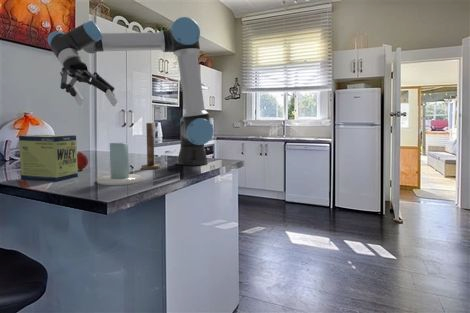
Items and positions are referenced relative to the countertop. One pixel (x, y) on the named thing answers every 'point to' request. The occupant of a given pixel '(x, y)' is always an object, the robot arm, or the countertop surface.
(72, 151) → the protein box
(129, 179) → the cream plate
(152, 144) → the walnut post
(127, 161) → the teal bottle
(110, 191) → the countertop surface
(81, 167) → the red fruit
